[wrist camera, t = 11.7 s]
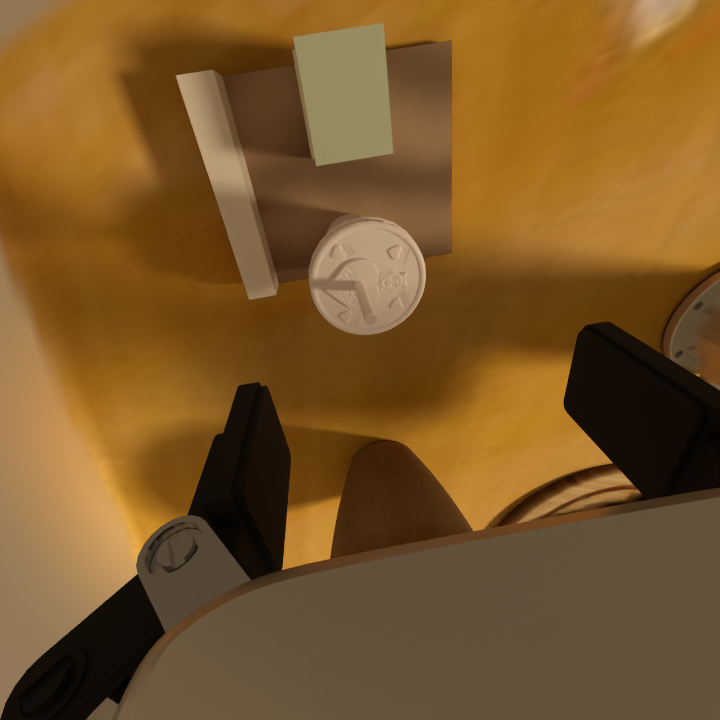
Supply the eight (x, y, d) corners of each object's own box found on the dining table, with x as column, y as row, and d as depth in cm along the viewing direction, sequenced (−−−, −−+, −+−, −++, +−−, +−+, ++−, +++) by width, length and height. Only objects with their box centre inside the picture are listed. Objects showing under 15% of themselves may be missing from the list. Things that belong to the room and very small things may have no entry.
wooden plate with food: (628, 574, 67) (667, 624, 60) (466, 597, 63) (486, 654, 56) (720, 448, 51) (787, 496, 44) (509, 468, 47) (546, 525, 40)
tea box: (372, 149, 24) (393, 153, 18) (311, 159, 24) (313, 166, 18) (362, 54, 22) (383, 22, 16) (294, 64, 21) (289, 37, 16)
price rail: (279, 279, 29) (276, 295, 26) (253, 283, 29) (247, 300, 26) (225, 78, 22) (212, 69, 19) (190, 83, 22) (172, 75, 19)
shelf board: (447, 249, 30) (451, 252, 29) (255, 283, 29) (253, 287, 28) (446, 44, 23) (451, 40, 22) (193, 83, 22) (188, 81, 21)
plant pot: (293, 452, 40) (286, 616, 26) (415, 394, 37) (476, 539, 24) (355, 519, 47) (375, 672, 34) (460, 474, 45) (525, 618, 32)
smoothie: (301, 198, 25) (296, 252, 14) (390, 188, 26) (461, 232, 14) (314, 285, 29) (320, 388, 17) (393, 275, 29) (452, 369, 17)
